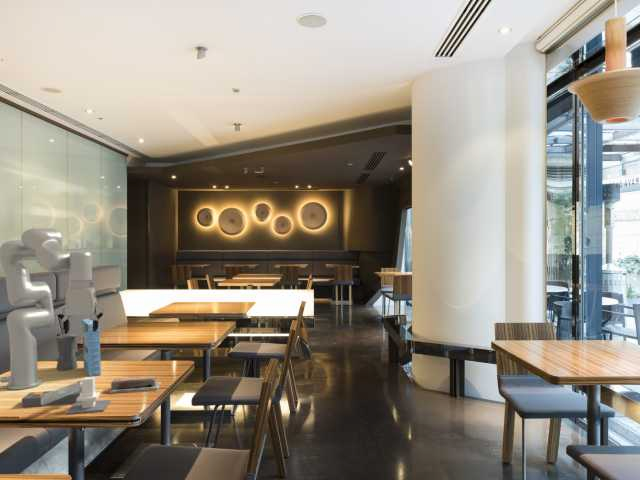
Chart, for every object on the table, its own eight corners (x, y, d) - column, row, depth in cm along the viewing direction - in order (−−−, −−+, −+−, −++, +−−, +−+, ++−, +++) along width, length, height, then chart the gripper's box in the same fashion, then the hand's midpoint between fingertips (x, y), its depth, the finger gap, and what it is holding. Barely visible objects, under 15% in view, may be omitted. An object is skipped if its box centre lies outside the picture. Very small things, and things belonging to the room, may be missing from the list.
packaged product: (108, 382, 192) (114, 375, 202) (109, 395, 192) (115, 388, 202) (157, 379, 195) (161, 372, 205) (157, 391, 195) (161, 384, 205)
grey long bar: (44, 404, 166) (44, 395, 166) (40, 404, 167) (39, 395, 167) (84, 389, 184) (84, 381, 184) (79, 389, 184) (79, 380, 184)
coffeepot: (84, 367, 235) (83, 329, 235) (64, 372, 227) (63, 332, 227) (67, 363, 244) (66, 326, 244) (47, 368, 236) (46, 329, 236)
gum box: (101, 375, 220) (99, 323, 221) (88, 377, 218) (87, 324, 218) (94, 366, 237) (93, 318, 237) (82, 368, 234) (81, 319, 234)
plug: (76, 409, 172) (76, 381, 172) (81, 404, 178) (80, 376, 178) (96, 408, 173) (96, 379, 173) (100, 402, 180) (100, 375, 180)
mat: (65, 414, 169) (65, 412, 169) (75, 404, 180) (75, 402, 180) (103, 411, 172) (103, 409, 172) (110, 401, 182) (110, 399, 182)
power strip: (21, 407, 178) (21, 397, 178) (30, 400, 186) (30, 390, 186) (85, 402, 182) (84, 392, 182) (90, 395, 190) (90, 386, 190)
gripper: (108, 283, 189) (108, 328, 190) (58, 284, 186) (59, 330, 186) (103, 285, 182) (103, 332, 182) (51, 286, 179) (52, 334, 179)
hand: (81, 331), depth 184 cm, fingers open, 9 cm apart
